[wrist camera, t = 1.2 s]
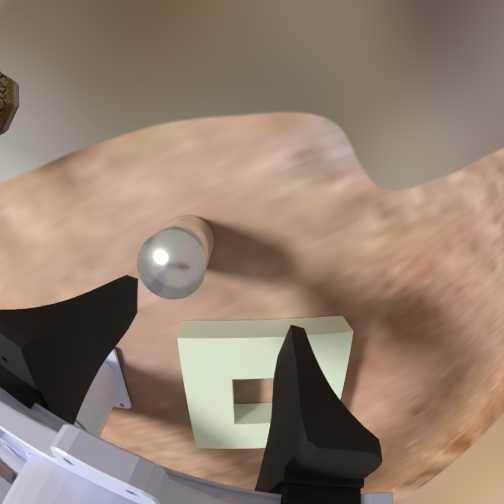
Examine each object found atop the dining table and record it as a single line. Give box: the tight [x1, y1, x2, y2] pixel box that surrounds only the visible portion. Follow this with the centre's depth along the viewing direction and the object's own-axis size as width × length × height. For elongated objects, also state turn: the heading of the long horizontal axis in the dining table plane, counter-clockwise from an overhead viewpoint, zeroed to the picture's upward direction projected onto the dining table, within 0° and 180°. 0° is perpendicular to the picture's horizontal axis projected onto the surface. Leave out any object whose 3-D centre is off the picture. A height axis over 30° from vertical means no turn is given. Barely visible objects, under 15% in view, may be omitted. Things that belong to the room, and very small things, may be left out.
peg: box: [137, 215, 214, 299], centre depth 20 cm, size 4×4×7 cm
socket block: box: [177, 315, 354, 449], centre depth 26 cm, size 14×14×3 cm
